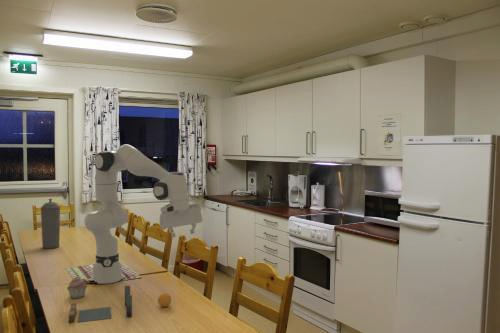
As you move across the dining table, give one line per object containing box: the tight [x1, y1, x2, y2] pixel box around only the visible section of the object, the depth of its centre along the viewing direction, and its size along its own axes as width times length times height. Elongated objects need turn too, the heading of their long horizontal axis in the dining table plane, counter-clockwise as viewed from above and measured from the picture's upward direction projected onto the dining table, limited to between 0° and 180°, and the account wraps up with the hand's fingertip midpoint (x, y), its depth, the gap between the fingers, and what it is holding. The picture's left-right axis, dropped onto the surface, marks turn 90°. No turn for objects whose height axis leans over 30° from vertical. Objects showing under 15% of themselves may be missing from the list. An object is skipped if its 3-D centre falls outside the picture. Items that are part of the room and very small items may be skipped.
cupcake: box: [66, 275, 88, 299], centre depth 204 cm, size 9×9×10 cm
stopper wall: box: [68, 303, 77, 324], centre depth 180 cm, size 14×2×3 cm, turn 19°
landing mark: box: [77, 306, 112, 323], centre depth 183 cm, size 13×13×1 cm
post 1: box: [124, 284, 131, 307], centre depth 193 cm, size 2×2×9 cm
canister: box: [40, 198, 61, 250], centre depth 301 cm, size 13×13×35 cm
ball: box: [157, 292, 172, 308], centre depth 192 cm, size 6×6×6 cm
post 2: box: [125, 294, 133, 318], centre depth 181 cm, size 2×2×9 cm
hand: (183, 235), depth 197 cm, fingers open, 8 cm apart
